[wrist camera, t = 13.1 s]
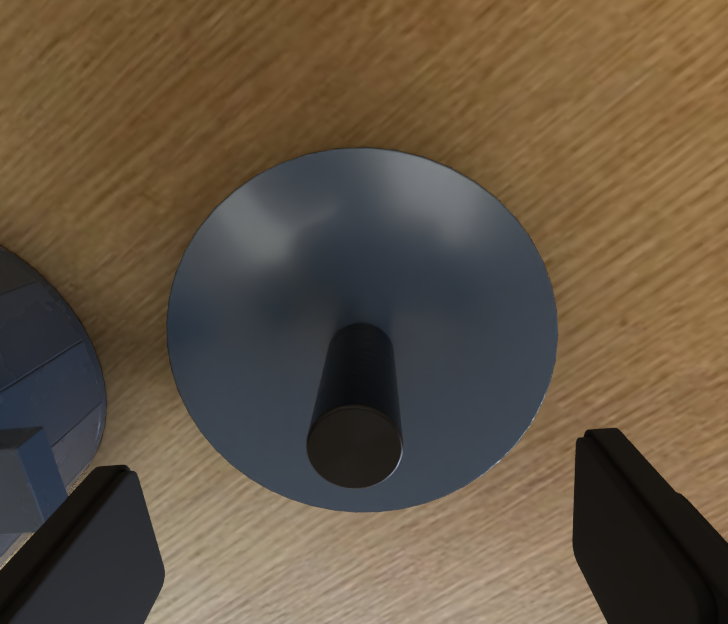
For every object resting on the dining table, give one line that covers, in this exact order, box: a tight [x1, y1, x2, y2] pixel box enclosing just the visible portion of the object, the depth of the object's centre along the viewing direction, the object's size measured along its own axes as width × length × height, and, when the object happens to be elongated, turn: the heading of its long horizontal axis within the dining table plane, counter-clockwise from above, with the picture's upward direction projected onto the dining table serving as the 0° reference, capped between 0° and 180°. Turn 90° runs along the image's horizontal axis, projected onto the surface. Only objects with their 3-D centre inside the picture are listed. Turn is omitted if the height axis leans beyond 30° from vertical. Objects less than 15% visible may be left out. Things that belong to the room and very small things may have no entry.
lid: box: [167, 147, 558, 512], centre depth 15 cm, size 14×14×7 cm
